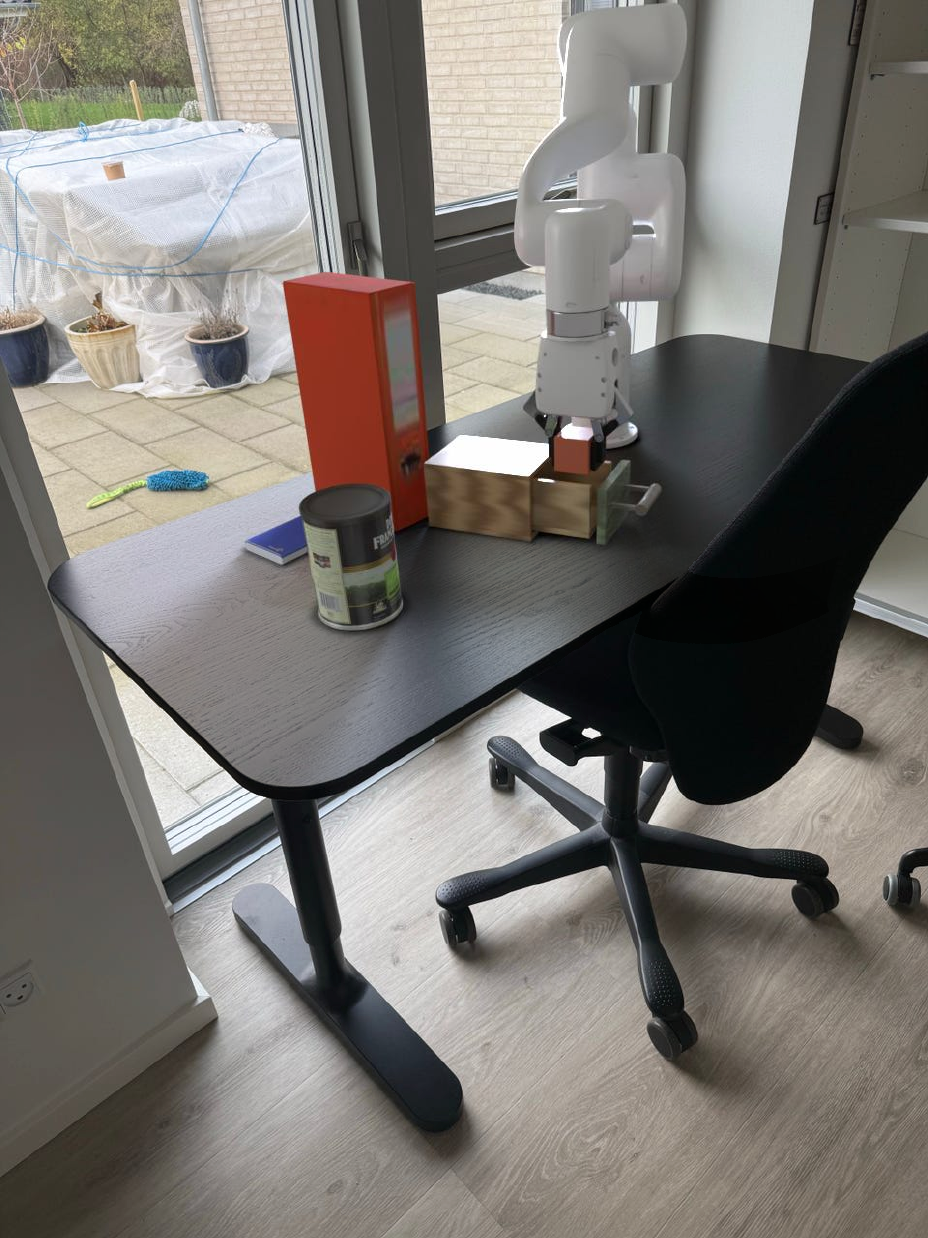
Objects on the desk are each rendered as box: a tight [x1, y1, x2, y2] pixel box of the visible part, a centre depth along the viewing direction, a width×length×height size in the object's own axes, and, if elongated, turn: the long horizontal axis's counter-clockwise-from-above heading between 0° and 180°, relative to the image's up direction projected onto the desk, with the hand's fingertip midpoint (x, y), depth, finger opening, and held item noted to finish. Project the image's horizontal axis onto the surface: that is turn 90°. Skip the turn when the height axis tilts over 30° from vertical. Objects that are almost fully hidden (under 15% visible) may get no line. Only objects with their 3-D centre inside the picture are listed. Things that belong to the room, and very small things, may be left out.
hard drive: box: [244, 515, 308, 566], centre depth 121 cm, size 2×8×12 cm
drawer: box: [530, 459, 663, 546], centre depth 116 cm, size 19×10×8 cm, turn 64°
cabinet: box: [424, 434, 551, 542], centre depth 121 cm, size 15×11×9 cm
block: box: [554, 425, 594, 475], centre depth 113 cm, size 5×5×5 cm
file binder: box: [282, 271, 430, 532], centre depth 121 cm, size 8×17×32 cm, turn 47°
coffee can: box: [298, 483, 404, 632], centre depth 101 cm, size 10×10×14 cm
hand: (577, 463), depth 114 cm, fingers closed on block, 4 cm apart
